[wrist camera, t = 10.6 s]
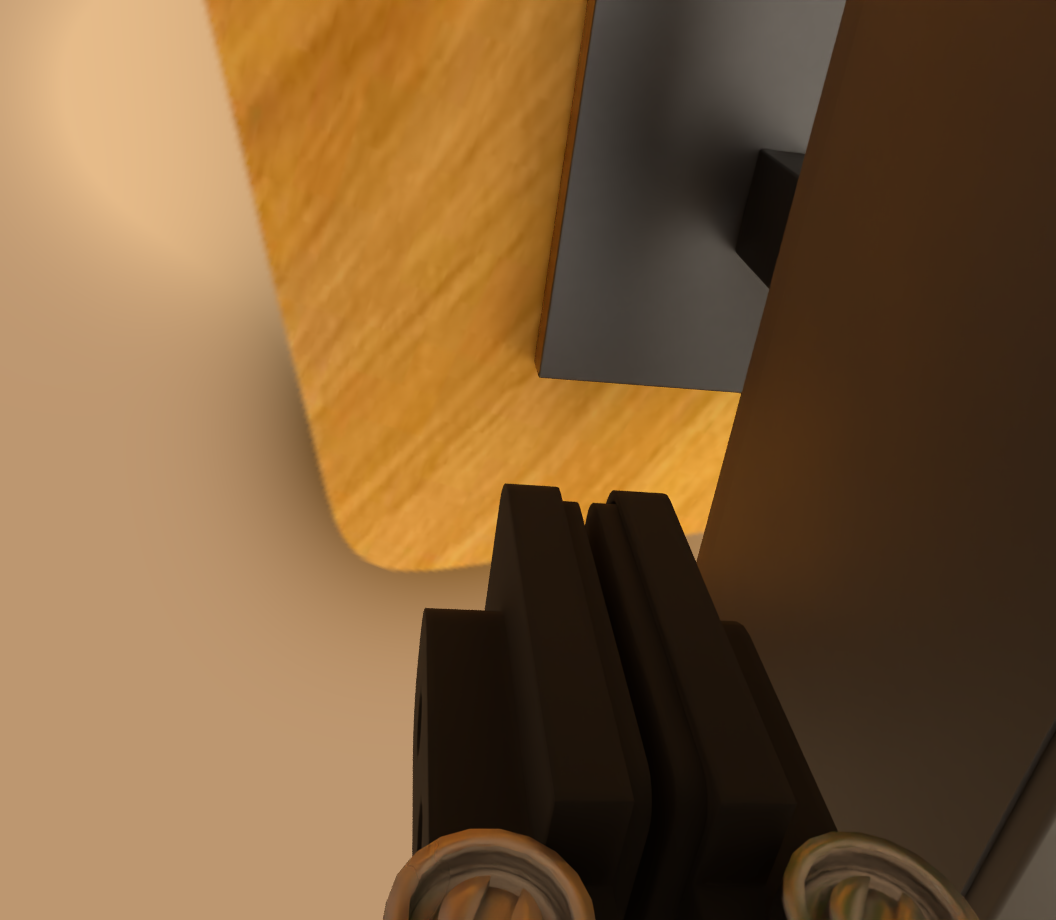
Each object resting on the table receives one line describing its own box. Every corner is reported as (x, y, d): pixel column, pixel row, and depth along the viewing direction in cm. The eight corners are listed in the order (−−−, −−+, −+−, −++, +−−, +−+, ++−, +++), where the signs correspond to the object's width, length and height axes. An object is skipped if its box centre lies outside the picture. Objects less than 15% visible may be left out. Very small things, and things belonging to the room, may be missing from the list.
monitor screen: (679, 606, 25) (873, 1114, 14) (887, -185, 16) (1693, -319, 6) (742, 608, 25) (977, 1110, 15) (978, -168, 17) (1897, -271, 6)
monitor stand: (533, 361, 31) (595, 590, 21) (596, -64, 25) (725, -37, 15) (828, 385, 32) (1020, 608, 22) (953, -10, 26) (1290, 48, 16)
